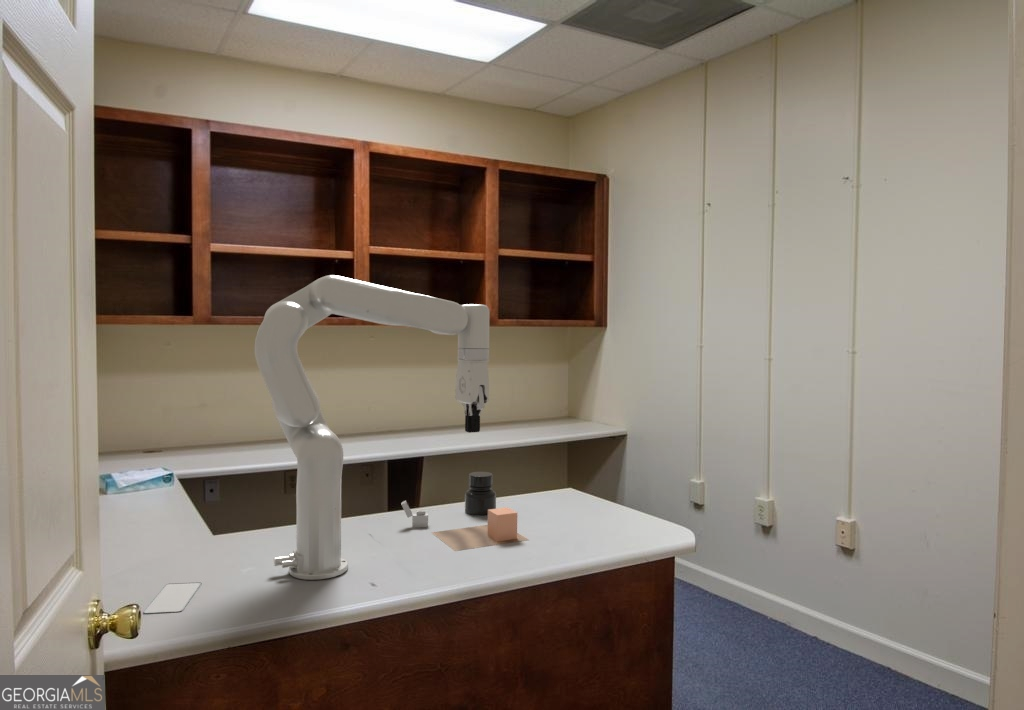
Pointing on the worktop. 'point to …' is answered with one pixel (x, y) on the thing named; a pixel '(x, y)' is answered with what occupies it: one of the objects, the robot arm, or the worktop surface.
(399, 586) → the worktop surface
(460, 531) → the base board
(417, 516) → the lighter
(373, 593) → the worktop surface
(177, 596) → the smartphone
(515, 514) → the salmon orange block
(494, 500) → the ink bottle
